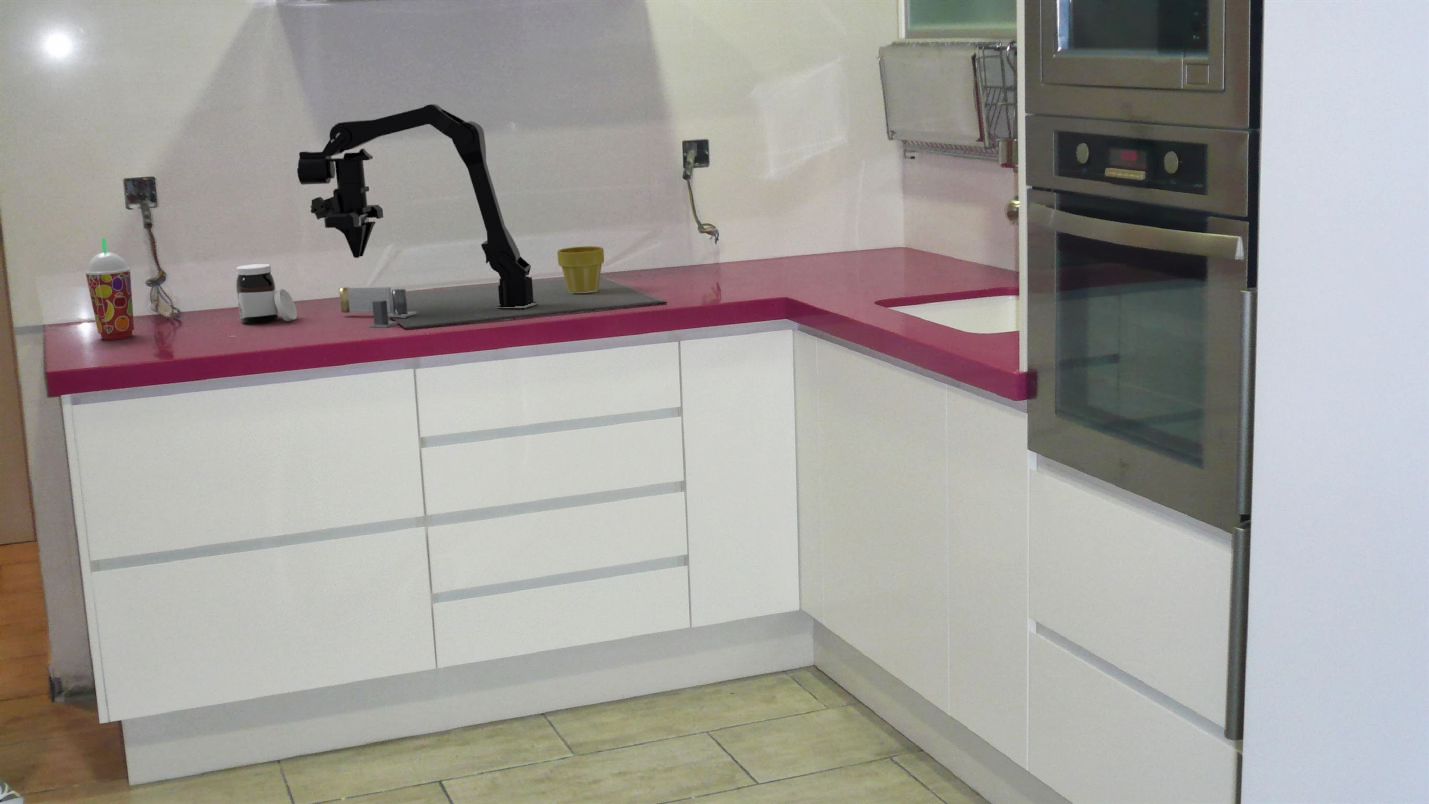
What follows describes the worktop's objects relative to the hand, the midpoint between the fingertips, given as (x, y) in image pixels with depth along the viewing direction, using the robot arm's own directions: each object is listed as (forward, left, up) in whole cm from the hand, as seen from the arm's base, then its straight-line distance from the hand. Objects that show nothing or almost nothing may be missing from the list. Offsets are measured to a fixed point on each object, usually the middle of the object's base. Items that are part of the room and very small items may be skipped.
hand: (358, 257), depth 299 cm
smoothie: (+35, +34, -12) cm, 50 cm away
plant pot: (-36, -33, -12) cm, 50 cm away
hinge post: (-11, +2, -12) cm, 16 cm away
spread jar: (+15, +12, -12) cm, 23 cm away
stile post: (-13, +12, -12) cm, 22 cm away
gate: (-3, +3, -11) cm, 12 cm away
